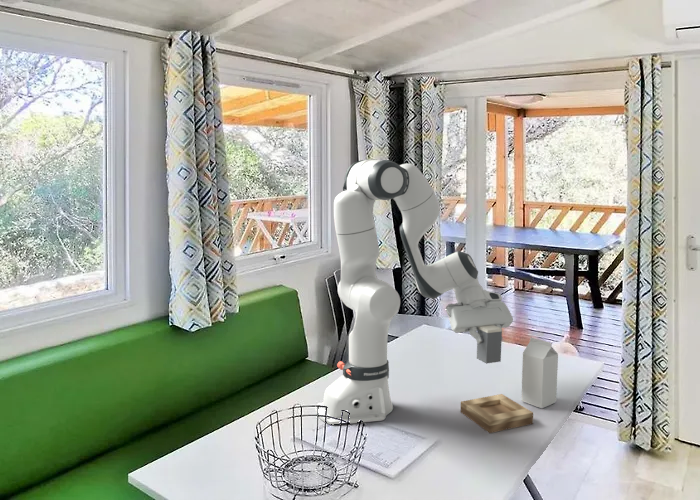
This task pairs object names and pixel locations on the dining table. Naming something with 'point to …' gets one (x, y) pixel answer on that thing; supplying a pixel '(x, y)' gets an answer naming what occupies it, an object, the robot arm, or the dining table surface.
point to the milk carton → (539, 373)
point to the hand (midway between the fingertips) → (490, 341)
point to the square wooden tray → (496, 413)
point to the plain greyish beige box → (489, 344)
